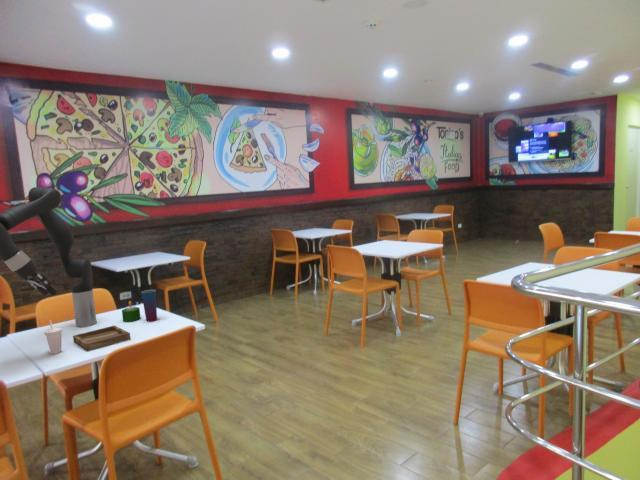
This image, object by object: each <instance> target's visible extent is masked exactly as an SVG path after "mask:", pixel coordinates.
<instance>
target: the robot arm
mask: <svg viewBox="0 0 640 480" xmlns="http://www.w3.org/2000/svg"><path fill="white" fill-rule="evenodd" d="M27 198H28V202H27V203H22V204H19V205H15V206H13V207H10V208H8V209H6V210H4V211H2V212H0V260H2V261H3V262H4V264H5V265H6V266H7V268H9V269H10V270H11V271H12V273H13V274H15V275H16V276H17V277H18V278H19V279H20V280H24V281H25V282H27V283H28V284H29V285H30V287H32V288H33V289H35V290H37V291H38V292H39V293H40V294H41V295H42V296H47V295H48V294H49V295H51V296H52V297H53V296H54V295H56V294H57V290H55V289H54V287H53V286H52V282H51V281H50V280H49V279H48V278H47V277H45V275H44V274H43V273H42V272H40V273H37V272H36V271H37V270H38V268H39V266H38V265H37V264H36V263H35V262H34V261H33V260H32V258H30V257H29V256H28V255H27V254H26V253H25V252H24V251H23V250H21V248H20V247H19V246H18V245H17V244H16V243H15V242H14V241H13V239H12V237H11V235H10V234H9V232H8V231H10V230H11V231H12V229H14V228H16V227H18V226H19V225H21V224H23V223H24V222H26V221H28V220H30V219H32V218H34V217H36V216H38V218H39V219H40V221H41V223H42V225H43V226H44V229H45V230H46V232H47V235H48V236H49V239H50V241H51V242H52V244H53V246H54V248H55V250H56V253H57V254H58V256H59V258H60V262H61V265H62V267H63V270H64V272H65V274H66V276H67V277H68V278H71V279H77V278H81V281H80V282H79V283H76V284H74V285H71V297H72V304H73V311H74V319H75V326H76V327H77V328H85V327H90V326H93V325H95V324H97V314H96V308H95V307H96V305H95V299H94V298H95V297H94V292H93V289H94V288H93V272H92V269H93V268H92V263H91V261H90V259H88V258H75V259H74V258H72V256H71V250H72V248H73V246H74V243H75V237H74V234H73V232H72V228H71V227H70V226H69V224H68V223H67V222H66V221H65V220H63V218H62V217H60V216H59V215H57V214H56V212H55V211H54V209H56V208H58V207H59V206H60V205H61V202H62V194H61V193H60V190H58V189H56V188H53V187H44V186H34V187H32V188H30V189H29V191H28V197H27Z"/></svg>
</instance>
